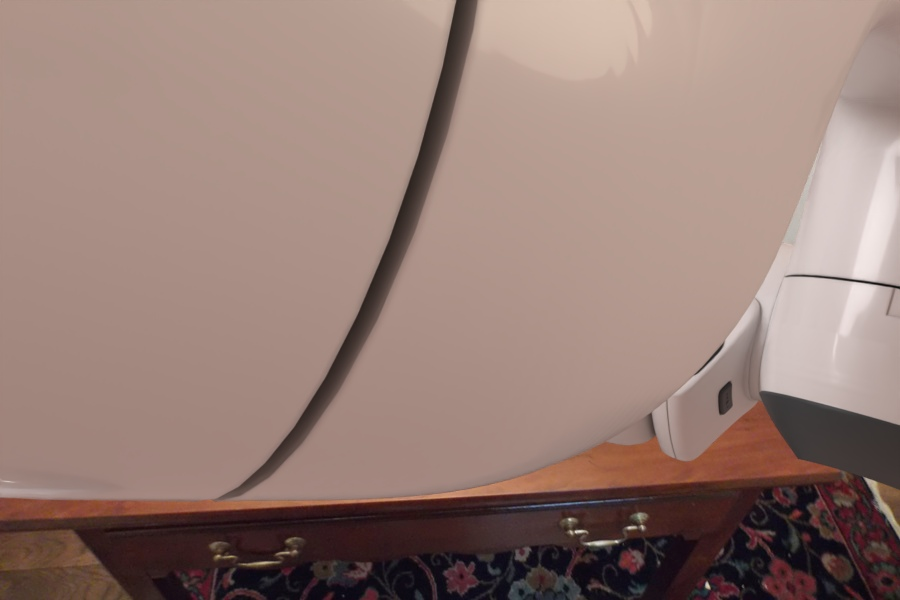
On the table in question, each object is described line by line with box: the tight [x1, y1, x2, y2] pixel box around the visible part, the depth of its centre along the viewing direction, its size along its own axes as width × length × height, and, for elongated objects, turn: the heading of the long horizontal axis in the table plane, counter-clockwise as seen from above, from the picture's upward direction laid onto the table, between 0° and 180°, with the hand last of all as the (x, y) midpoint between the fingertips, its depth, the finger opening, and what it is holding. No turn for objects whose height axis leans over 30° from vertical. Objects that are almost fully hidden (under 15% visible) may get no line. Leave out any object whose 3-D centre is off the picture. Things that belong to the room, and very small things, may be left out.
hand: (535, 268), depth 45 cm, fingers open, 8 cm apart
